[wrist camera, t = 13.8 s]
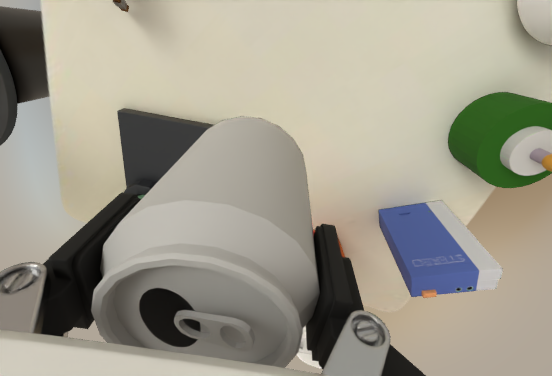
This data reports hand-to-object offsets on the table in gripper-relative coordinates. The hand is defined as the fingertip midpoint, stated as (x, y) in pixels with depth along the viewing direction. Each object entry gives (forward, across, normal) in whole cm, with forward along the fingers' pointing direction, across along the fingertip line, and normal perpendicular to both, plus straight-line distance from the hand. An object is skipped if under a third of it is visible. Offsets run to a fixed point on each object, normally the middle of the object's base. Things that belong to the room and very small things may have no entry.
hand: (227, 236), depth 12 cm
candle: (+21, -24, -3) cm, 32 cm away
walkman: (+21, -20, +9) cm, 31 cm away
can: (+7, 0, 0) cm, 7 cm away
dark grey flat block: (+21, +10, +9) cm, 25 cm away
